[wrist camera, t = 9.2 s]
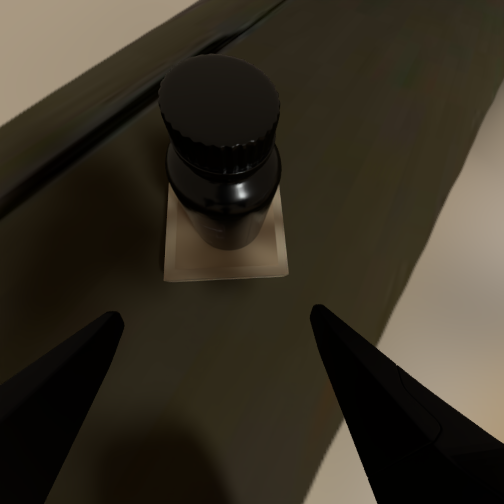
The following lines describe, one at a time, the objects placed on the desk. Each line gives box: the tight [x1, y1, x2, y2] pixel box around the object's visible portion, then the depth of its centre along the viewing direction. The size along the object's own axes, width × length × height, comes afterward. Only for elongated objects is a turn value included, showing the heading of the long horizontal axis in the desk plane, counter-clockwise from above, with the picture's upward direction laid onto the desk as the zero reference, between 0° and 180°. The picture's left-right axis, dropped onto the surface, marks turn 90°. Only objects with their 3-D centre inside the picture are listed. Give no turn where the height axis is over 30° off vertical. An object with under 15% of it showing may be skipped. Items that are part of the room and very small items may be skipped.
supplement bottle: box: [158, 54, 282, 251], centre depth 13 cm, size 7×7×12 cm
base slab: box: [164, 183, 289, 282], centre depth 20 cm, size 12×12×2 cm
